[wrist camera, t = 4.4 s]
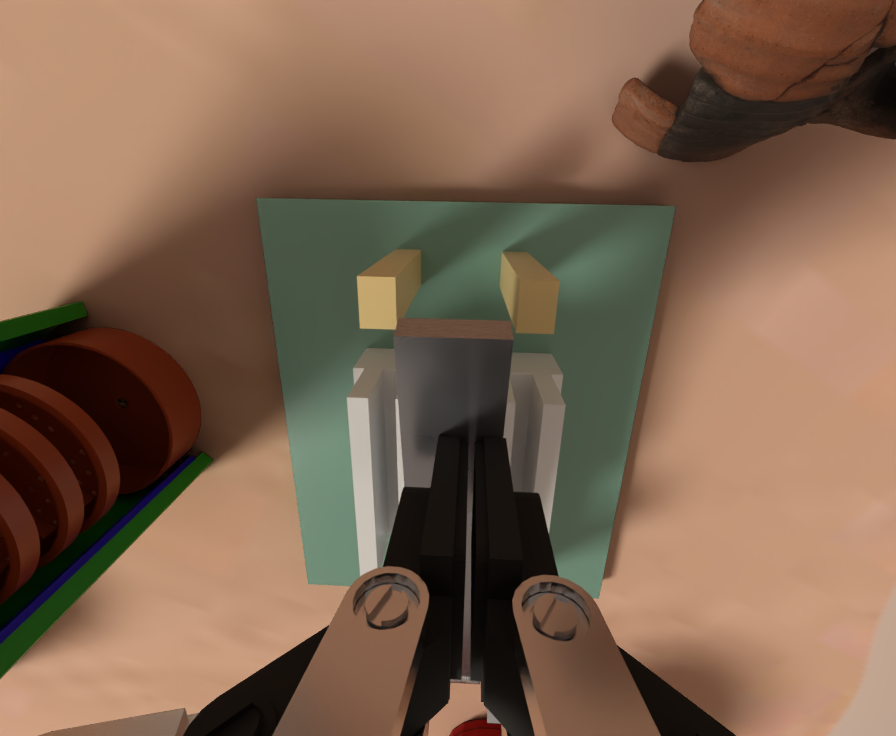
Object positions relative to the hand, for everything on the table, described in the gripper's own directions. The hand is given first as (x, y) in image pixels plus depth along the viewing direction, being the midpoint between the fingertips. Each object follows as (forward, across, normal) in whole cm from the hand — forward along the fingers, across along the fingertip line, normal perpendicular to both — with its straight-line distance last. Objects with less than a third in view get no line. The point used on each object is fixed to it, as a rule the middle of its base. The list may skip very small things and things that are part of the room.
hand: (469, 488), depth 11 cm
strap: (+2, +1, +4) cm, 4 cm away
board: (+10, +1, +3) cm, 10 cm away
